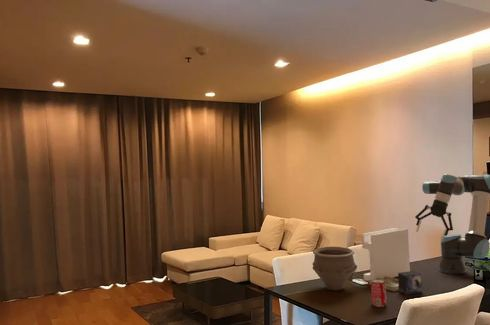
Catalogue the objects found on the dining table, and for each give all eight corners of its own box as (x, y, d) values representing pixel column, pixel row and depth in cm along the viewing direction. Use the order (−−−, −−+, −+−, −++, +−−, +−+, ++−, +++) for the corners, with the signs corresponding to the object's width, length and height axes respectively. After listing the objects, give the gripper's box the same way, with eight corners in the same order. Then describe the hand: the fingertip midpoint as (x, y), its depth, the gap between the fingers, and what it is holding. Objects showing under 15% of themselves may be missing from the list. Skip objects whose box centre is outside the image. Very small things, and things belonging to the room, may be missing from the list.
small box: (405, 295, 213) (405, 275, 213) (398, 292, 219) (397, 272, 219) (422, 293, 216) (421, 273, 216) (414, 289, 222) (413, 270, 222)
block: (374, 282, 239) (372, 235, 239) (363, 280, 245) (361, 233, 246) (410, 272, 258) (407, 228, 259) (398, 270, 265) (396, 227, 266)
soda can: (383, 302, 203) (382, 278, 203) (389, 307, 196) (387, 282, 196) (369, 303, 202) (368, 279, 203) (374, 308, 195) (373, 283, 196)
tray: (385, 280, 242) (385, 276, 242) (411, 287, 227) (410, 282, 227) (368, 284, 236) (368, 280, 236) (393, 291, 220) (393, 287, 220)
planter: (358, 283, 238) (356, 246, 239) (358, 296, 215) (356, 254, 215) (315, 282, 245) (314, 245, 245) (310, 293, 221) (309, 253, 222)
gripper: (418, 193, 232) (406, 228, 233) (465, 208, 220) (452, 244, 221) (419, 193, 239) (407, 227, 240) (465, 208, 226) (452, 244, 227)
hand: (429, 236), depth 230 cm, fingers open, 13 cm apart
